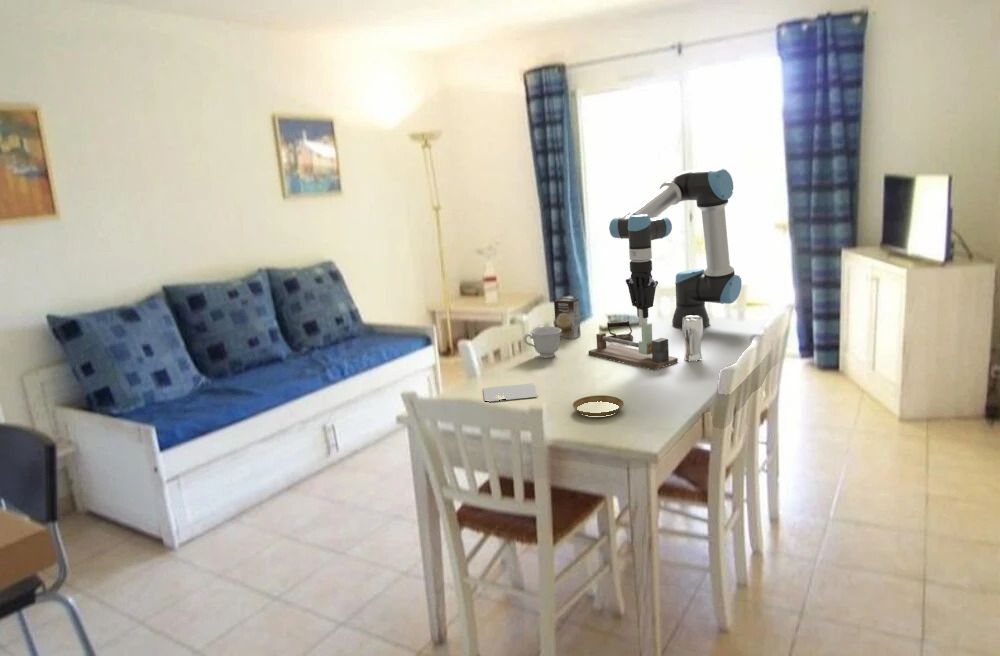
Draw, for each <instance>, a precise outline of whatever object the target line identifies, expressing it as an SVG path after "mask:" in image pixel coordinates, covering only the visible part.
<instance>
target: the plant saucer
mask: <svg viewBox="0 0 1000 656" xmlns="http://www.w3.org/2000/svg"><path fill="white" fill-rule="evenodd" d="M597 401H598V402H600V401H602V402H609V403H613V404H616V405H618V406H619V408H618V409H616V410H613V411H609V412H601V413H590V412H583V411H579V410H577V407H578V406H580V405H582V404H584V403H588V402H597ZM623 406H624V400H623V399H621V398H619V397H616V396H612V395H597V394H595V395H590V396H585V397H584V396H583V397H581V398H579V399H577V400H574V402H573V403H572V407H573V409H574V410H575V411H576V412H577V413H578V414H580V415H581V414H583V415H588V416H606V415H611V414H614V413H616V414H617V413H618V412H619V411H620V410H621V409H622V408H623ZM583 415H582V416H583ZM614 415H615V414H614Z"/></svg>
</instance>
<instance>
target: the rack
mask: <svg viewBox="0 0 1000 656" xmlns="http://www.w3.org/2000/svg"><path fill="white" fill-rule="evenodd" d="M595 338H596V348H593V349H590V350H588V355H589V356H592V355H594V356H593V357H597V356H598V358H601V357H602V358H601V359H605V358H606V359H605V360H609V359H611V361H614V360H615V361H614V362H618V361H620V362H619V363H622V362H624V363H623V364H626V363H628V364H627V365H630V364H632V366H635V365H636V367H639V366H640V367H639V368H643V367H645V368H644V369H647V368H649V369H648V370H652V369H654V370H653V371H656V370H655V369H657V370H659V369H658V368H660V369H662V368H661V367H663V366H665V367H667V366H666V365H668V366H670V365H669V364H671V365H673V364H672V363H674V362H677V361H678V362H679V359H678V357H675V356H670V354H669V339H668V338H664V337H659V338H657V339H652V340H653V341H652V344H650V345H649V348H648V349H649V351H650V352H652V354H649V355H645V354H640V353H639V349H637V348H639V342H636V341H633V342H631V341H626V340H621V339H617V338H612V337H607V333H606V332H599V333H596V337H595ZM607 342H611V343H610V344H607ZM613 343H616V344H613ZM618 344H620V345H618ZM623 345H624V346H623ZM625 345H626V346H625ZM628 346H629V347H628ZM632 347H634V348H632ZM678 362H677V363H678ZM674 364H675V363H674ZM663 368H664V367H663Z"/></svg>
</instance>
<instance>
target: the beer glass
mask: <svg viewBox="0 0 1000 656" xmlns="http://www.w3.org/2000/svg"><path fill="white" fill-rule="evenodd" d="M681 330H682V339H683V343H684V352H685V353H684V360H685V361H686V360H690V361H689V362H691V361H696V360H700V359H702V360H703V356H702V355H703V354H702V341H703V337H704V336H703V335H704V327H703V322H702V317H700V316H686V317H683V325H682V328H681ZM700 361H701V360H700ZM696 362H697V361H696Z"/></svg>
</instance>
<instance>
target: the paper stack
mask: <svg viewBox="0 0 1000 656" xmlns="http://www.w3.org/2000/svg"><path fill="white" fill-rule="evenodd" d="M482 389H483V390H482V392H483V399H484V402H485V401H487V400H489V402H499V400H500V399H498V398H496V397H497V396H498V395H499V396H500V395H501V397H502V396H503V395H504V397H505V398H504V399H506V400H505V401H509V400H510V401H511V400H518V399H529V398H537V397H538V395H537V392H536V389H535V385H534V383H522V384H512V385H503V386H493V387H483V388H482ZM498 393H499V394H498ZM503 393H504V394H503ZM496 395H497V396H496ZM494 397H495V398H494ZM500 401H501V400H500ZM489 402H488V403H489Z"/></svg>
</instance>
